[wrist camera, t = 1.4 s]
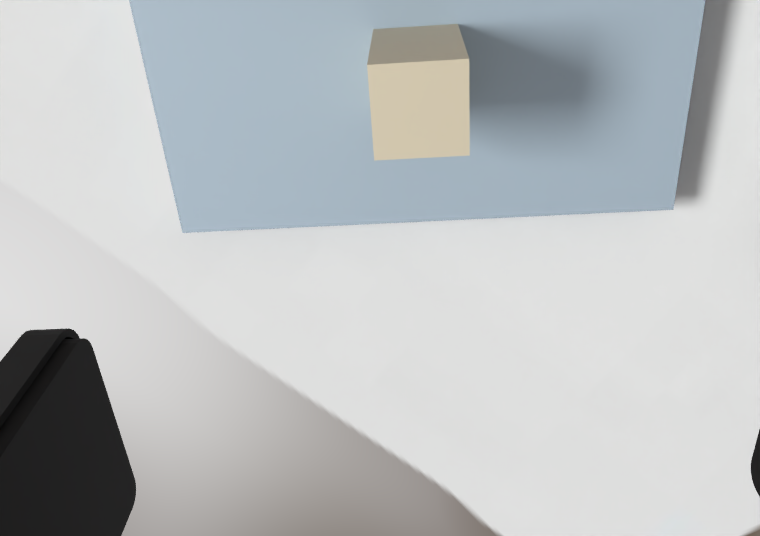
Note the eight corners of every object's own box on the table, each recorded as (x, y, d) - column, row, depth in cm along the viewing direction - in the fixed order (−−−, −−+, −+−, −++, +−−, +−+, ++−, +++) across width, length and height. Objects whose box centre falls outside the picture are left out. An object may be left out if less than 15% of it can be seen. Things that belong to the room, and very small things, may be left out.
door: (719, -214, 23) (824, -237, 17) (661, 194, 30) (721, 273, 24) (107, -165, 24) (17, -171, 18) (191, 216, 31) (145, 297, 25)
